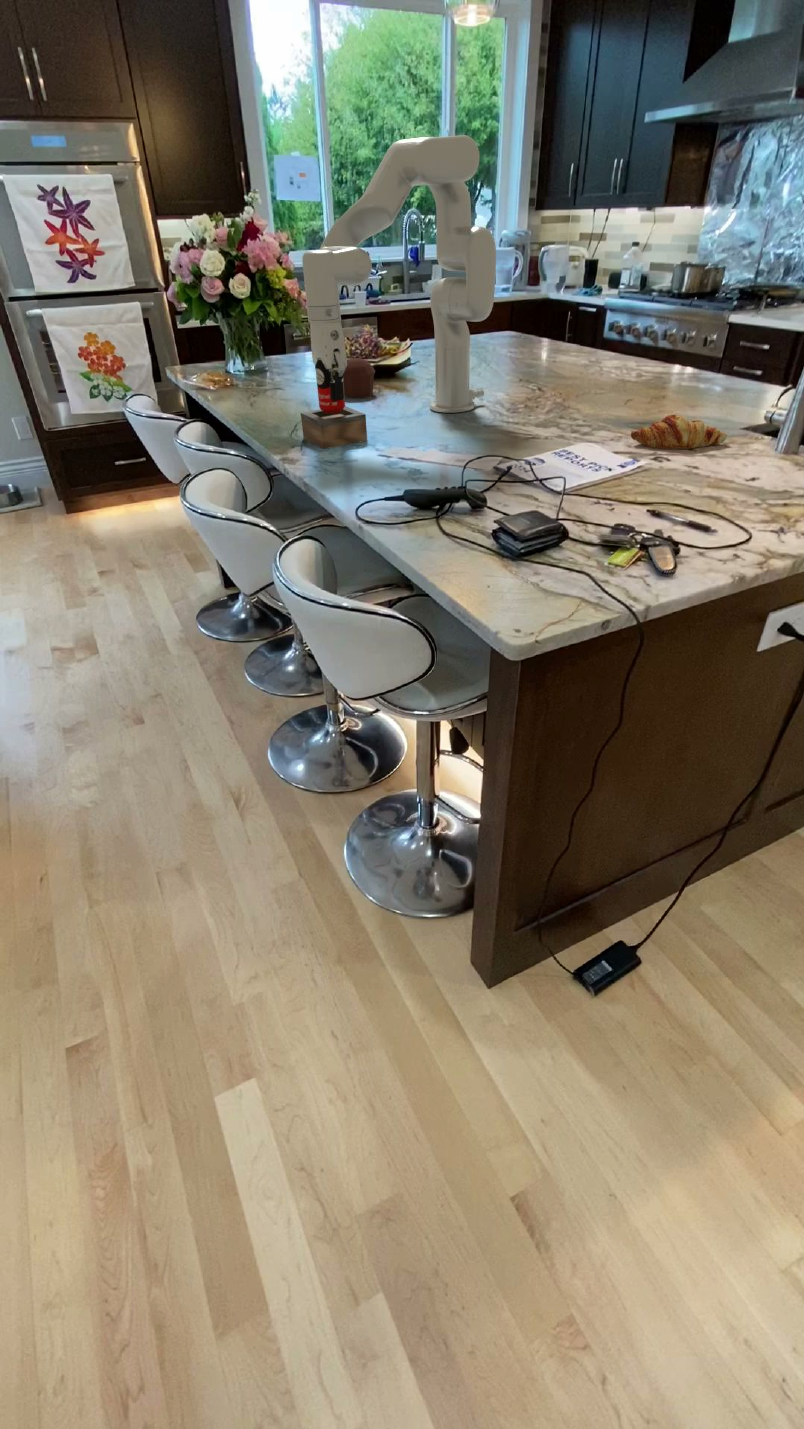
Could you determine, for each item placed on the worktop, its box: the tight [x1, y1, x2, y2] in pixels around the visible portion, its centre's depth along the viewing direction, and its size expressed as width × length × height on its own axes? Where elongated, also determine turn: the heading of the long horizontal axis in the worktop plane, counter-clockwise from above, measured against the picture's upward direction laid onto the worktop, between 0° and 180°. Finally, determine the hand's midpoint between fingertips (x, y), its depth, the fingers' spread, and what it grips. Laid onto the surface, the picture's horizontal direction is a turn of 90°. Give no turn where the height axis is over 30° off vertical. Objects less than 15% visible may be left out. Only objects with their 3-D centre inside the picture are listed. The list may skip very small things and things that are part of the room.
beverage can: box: [314, 358, 346, 413], centre depth 175 cm, size 6×6×12 cm
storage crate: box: [300, 405, 368, 450], centre depth 180 cm, size 12×12×6 cm
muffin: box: [343, 357, 376, 399], centre depth 220 cm, size 12×11×10 cm
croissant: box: [630, 414, 728, 450], centre depth 166 cm, size 21×10×8 cm, turn 84°
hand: (331, 397), depth 176 cm, fingers closed on beverage can, 6 cm apart
